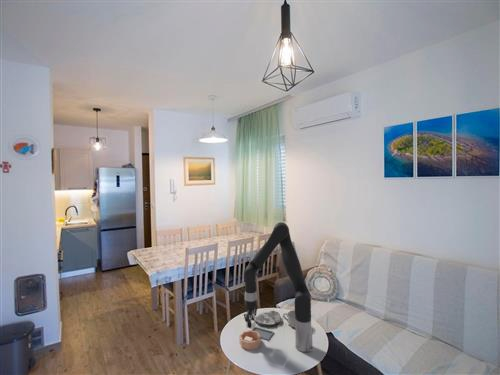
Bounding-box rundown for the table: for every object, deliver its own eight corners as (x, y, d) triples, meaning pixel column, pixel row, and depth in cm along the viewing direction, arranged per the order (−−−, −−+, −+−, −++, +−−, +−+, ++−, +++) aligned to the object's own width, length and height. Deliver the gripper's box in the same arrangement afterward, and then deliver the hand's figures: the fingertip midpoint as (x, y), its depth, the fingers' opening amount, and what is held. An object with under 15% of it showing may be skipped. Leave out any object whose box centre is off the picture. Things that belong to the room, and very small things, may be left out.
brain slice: (265, 332, 172) (265, 327, 172) (250, 320, 186) (250, 316, 186) (287, 322, 183) (287, 318, 183) (271, 312, 197) (271, 308, 197)
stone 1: (255, 326, 162) (255, 320, 162) (252, 329, 159) (252, 323, 159) (249, 324, 164) (249, 319, 164) (246, 327, 161) (246, 321, 161)
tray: (273, 333, 170) (273, 331, 170) (268, 341, 162) (268, 339, 162) (254, 328, 176) (254, 326, 176) (248, 335, 168) (248, 333, 168)
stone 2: (252, 343, 159) (252, 338, 158) (250, 347, 156) (250, 341, 155) (246, 341, 161) (246, 336, 161) (243, 345, 158) (243, 339, 158)
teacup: (305, 324, 180) (305, 312, 180) (300, 332, 171) (299, 320, 171) (287, 318, 188) (287, 307, 187) (280, 326, 178) (280, 314, 178)
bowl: (263, 340, 162) (263, 333, 162) (254, 352, 152) (254, 344, 152) (246, 335, 168) (246, 328, 168) (236, 346, 157) (236, 339, 157)
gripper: (250, 304, 153) (251, 333, 153) (261, 294, 165) (261, 321, 166) (239, 301, 156) (239, 330, 157) (250, 292, 169) (250, 318, 169)
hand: (251, 325), depth 161 cm, fingers closed on stone 1, 3 cm apart
